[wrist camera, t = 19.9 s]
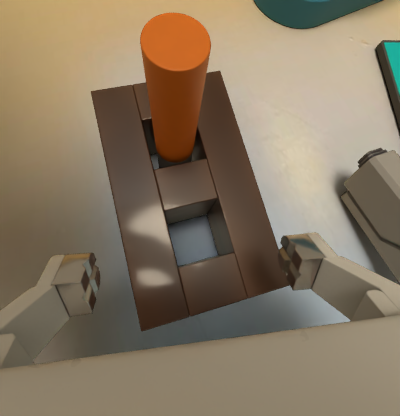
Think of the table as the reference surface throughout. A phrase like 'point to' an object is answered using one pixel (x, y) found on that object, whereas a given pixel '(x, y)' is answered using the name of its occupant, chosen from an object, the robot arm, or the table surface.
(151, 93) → the orange cylinder rod
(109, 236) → the table surface
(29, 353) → the robot arm
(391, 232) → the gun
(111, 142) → the pen stand
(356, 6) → the camera mount
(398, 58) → the smartphone
